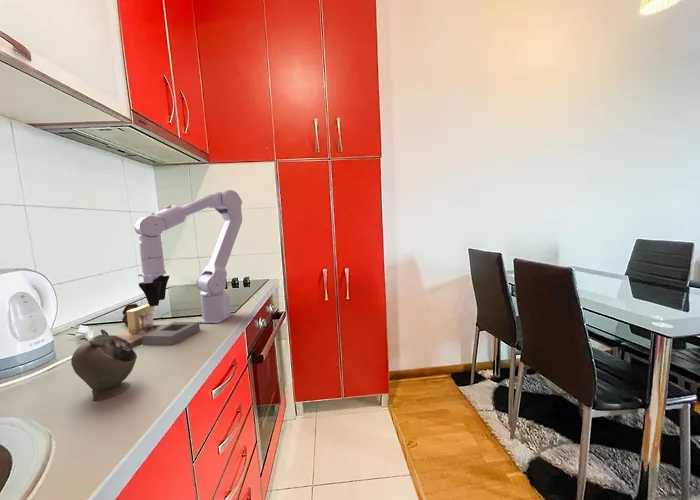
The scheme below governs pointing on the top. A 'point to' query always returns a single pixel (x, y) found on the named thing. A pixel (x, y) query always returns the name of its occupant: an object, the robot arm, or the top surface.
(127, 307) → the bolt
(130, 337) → the socket board
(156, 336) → the frame
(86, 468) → the top surface
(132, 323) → the bar
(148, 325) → the peg
